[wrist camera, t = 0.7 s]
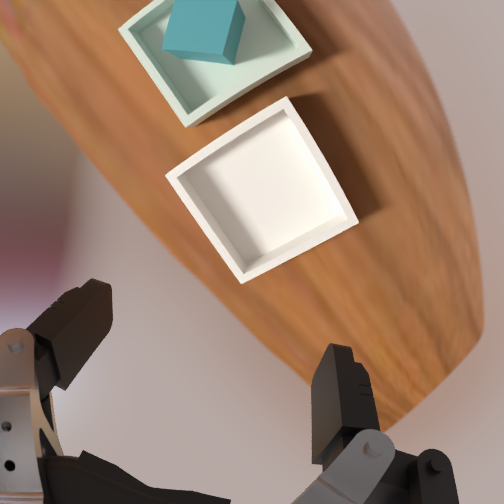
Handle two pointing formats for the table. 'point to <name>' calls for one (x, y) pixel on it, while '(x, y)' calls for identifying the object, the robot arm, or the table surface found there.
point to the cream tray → (263, 192)
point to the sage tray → (208, 73)
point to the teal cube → (204, 30)
